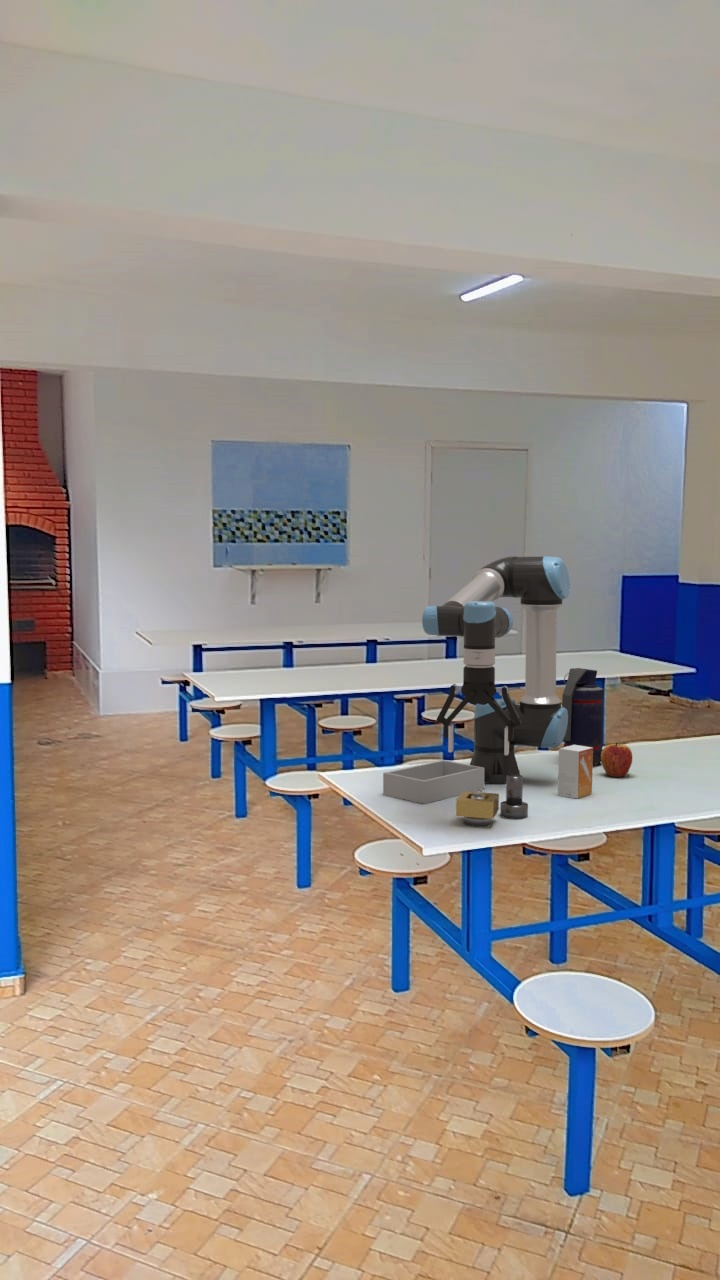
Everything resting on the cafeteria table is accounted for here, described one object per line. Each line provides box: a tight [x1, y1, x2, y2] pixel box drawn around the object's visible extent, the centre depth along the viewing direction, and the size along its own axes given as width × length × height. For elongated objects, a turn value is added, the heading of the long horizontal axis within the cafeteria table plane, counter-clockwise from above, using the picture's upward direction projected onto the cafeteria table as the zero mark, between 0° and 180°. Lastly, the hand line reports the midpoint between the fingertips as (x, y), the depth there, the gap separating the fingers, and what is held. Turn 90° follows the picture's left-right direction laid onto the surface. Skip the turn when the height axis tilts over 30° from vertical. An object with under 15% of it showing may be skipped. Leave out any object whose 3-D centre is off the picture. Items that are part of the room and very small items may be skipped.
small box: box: [557, 745, 594, 799], centre depth 274 cm, size 8×6×13 cm
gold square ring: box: [455, 791, 500, 820], centre depth 245 cm, size 9×9×4 cm
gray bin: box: [382, 759, 485, 805], centre depth 277 cm, size 15×25×6 cm, turn 134°
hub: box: [462, 790, 492, 827], centre depth 245 cm, size 7×7×8 cm
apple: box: [601, 742, 633, 778], centre depth 298 cm, size 9×9×10 cm
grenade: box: [561, 667, 605, 766], centre depth 314 cm, size 14×12×30 cm
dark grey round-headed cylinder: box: [499, 774, 529, 820], centre depth 252 cm, size 7×7×10 cm
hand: (478, 752), depth 244 cm, fingers open, 13 cm apart
